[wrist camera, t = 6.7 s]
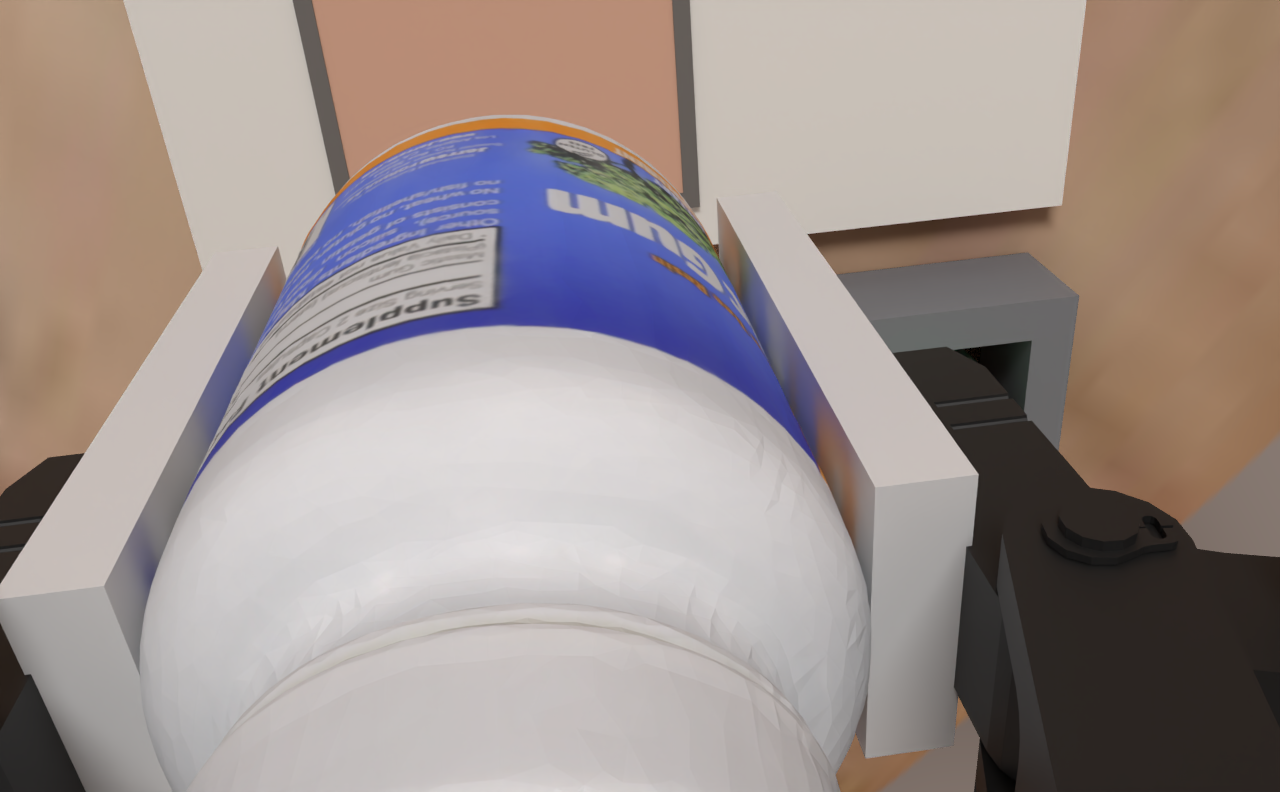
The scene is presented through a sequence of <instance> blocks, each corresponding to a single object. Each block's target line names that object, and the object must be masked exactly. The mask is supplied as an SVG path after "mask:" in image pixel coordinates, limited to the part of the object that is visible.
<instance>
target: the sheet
mask: <svg viewBox="0 0 1280 792" xmlns="http://www.w3.org/2000/svg"><path fill="white" fill-rule="evenodd" d="M123 1H124V4H125V8H126V11H127V15H128V18H129V21H130V25H131V28H132V32H133V35H134V38H135V42H136V45H137V49H138V52H139V55H140V59H141V62H142V66H143V69H144V73H145V76H146V79H147V83H148V86H149V90H150V93H151V96H152V100H153V103H154V107H155V110H156V114H157V117H158V120H159V124H160V127H161V131H162V134H163V137H164V141H165V144H166V148H167V151H168V154H169V158H170V161H171V165H172V168H173V172H174V175H175V178H176V182H177V185H178V189H179V192H180V195H181V199H182V202H183V206H184V209H185V213H186V216H187V219H188V223H189V226H190V230H191V233H192V236H193V240H194V243H195V247H196V250H197V254H198V257H199V260H200V264H201V267H202V271H203V270H204V268H205V267H206V265H207V264H208V262H209V261H210V259H211V257H212V256H213V254H214V253H216V252H225V251H234V250H243V249H252V248H261V247H270V246H278V248H279V252H280V256H281V260H282V264H283V267H284V271H285V275H286V279H287V277H288V275H289V273H290V271H291V269H292V267H293V265H294V263H295V261H296V259H297V257H298V255H299V252H300V251H301V248H302V246H303V243H304V241H305V239H306V237H307V235H308V233H309V231H310V230H311V228H312V227H313V225H314V224H315V223H316V221H317V220H318V218H319V217H320V215H321V214H322V212H323V211H324V209H325V208H326V207H327V205H328V204H329V203H330V201H331V200H332V199H333V198H334V197H335V195H336V194H337V193H338V192H339V191H340V190H341V188H342V187H343V186H344V185H345V184H346V183H347V181H348V180H349V179H350V178H352V177H353V176H354V175H355V174H356V173H357V172H358V171H359V170H360V169H361V168H362V167H364V166H365V165H366V164H367V163H368V162H369V161H371V160H372V159H373V158H375V157H376V156H378V155H379V154H381V153H382V152H384V151H385V150H387V149H388V148H390V147H392V146H393V145H395V144H397V143H399V142H401V141H403V140H405V139H407V138H409V137H411V136H414V135H416V134H418V133H420V132H423V131H425V130H428V129H431V128H434V127H437V126H440V125H443V124H447V123H451V122H455V121H460V120H464V119H469V118H474V117H481V116H489V115H531V116H538V117H546V118H552V119H556V120H561V121H565V122H568V123H572V124H575V125H579V126H582V127H585V128H588V129H590V130H593V131H595V132H597V133H600V134H602V135H604V136H607V137H609V138H611V139H613V140H615V141H616V142H618V143H620V144H622V145H623V146H625V147H627V148H628V149H630V150H632V151H633V152H635V153H636V154H638V155H639V156H640V157H642V158H643V159H645V160H646V161H647V162H649V163H650V164H651V165H652V166H653V167H654V168H656V169H657V170H658V171H659V172H660V173H661V174H662V175H663V176H664V177H665V178H666V179H667V180H668V181H669V182H670V183H671V184H672V185H673V186H674V187H675V188H676V190H677V191H678V192H679V193H680V194H681V196H682V197H683V198H684V199H685V201H686V202H687V203H688V205H689V206H690V208H691V209H692V211H693V212H694V213H695V215H696V217H697V218H698V219H699V221H700V223H701V224H702V226H703V228H704V229H705V231H706V233H707V234H708V236H709V238H710V240H711V242H712V244H713V245H714V244H719V242H718V218H717V198H718V197H727V196H736V195H746V194H755V193H764V192H773V191H777V193H778V194H779V195H780V197H781V198H782V200H783V201H784V202H785V204H786V205H787V207H788V208H789V209H790V211H791V212H792V214H793V215H794V216H795V218H796V219H797V221H798V222H799V223H800V225H801V226H802V228H803V229H804V230H805V232H806V233H807V234H812V233H821V232H829V231H838V230H847V229H856V228H865V227H874V226H883V225H891V224H900V223H909V222H918V221H927V220H936V219H945V218H954V217H962V216H971V215H980V214H989V213H998V212H1007V211H1016V210H1024V209H1033V208H1042V207H1051V206H1060V205H1062V199H1063V191H1064V182H1065V174H1066V166H1067V157H1068V149H1069V141H1070V132H1071V124H1072V116H1073V107H1074V99H1075V91H1076V82H1077V74H1078V66H1079V57H1080V49H1081V41H1082V32H1083V24H1084V16H1085V7H1086V0H123Z"/></svg>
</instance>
